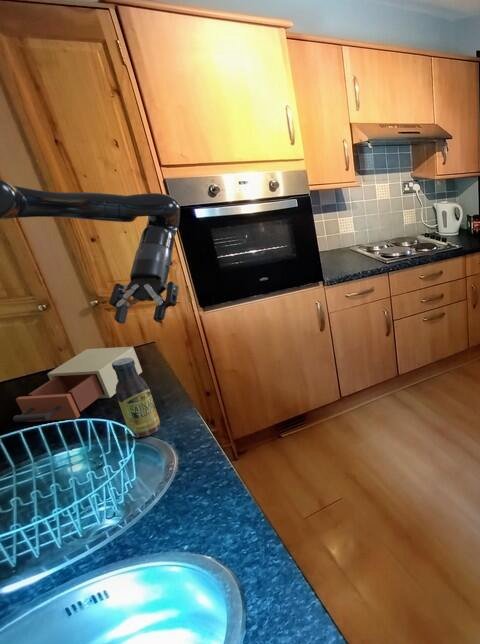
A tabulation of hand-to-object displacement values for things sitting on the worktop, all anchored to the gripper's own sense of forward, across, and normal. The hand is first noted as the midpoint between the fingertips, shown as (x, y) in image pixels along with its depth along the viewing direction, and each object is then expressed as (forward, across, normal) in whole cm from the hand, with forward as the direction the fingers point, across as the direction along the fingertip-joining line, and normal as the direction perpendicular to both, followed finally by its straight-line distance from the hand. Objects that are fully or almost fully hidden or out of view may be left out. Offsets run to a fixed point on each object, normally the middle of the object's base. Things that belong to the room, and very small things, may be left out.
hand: (138, 321), depth 112 cm
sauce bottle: (+26, 0, +11) cm, 28 cm away
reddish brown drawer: (+17, -26, +18) cm, 36 cm away
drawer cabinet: (+8, -26, +29) cm, 39 cm away
